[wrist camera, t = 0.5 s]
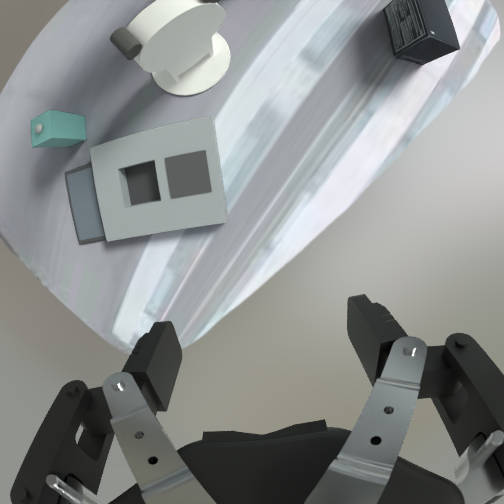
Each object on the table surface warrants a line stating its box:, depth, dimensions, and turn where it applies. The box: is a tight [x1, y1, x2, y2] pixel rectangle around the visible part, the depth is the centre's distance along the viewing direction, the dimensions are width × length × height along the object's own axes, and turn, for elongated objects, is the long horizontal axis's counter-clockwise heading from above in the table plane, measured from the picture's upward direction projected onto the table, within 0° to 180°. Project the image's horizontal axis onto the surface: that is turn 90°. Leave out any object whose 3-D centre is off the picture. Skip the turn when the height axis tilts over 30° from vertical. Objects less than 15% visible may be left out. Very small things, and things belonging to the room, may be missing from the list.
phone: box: [65, 163, 106, 244], centre depth 37 cm, size 6×12×1 cm, turn 8°
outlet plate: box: [90, 116, 228, 242], centre depth 35 cm, size 14×18×3 cm
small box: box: [384, 0, 460, 65], centre depth 24 cm, size 11×6×10 cm, turn 3°
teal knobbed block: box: [31, 110, 87, 148], centre depth 29 cm, size 4×4×10 cm
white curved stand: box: [110, 0, 230, 96], centre depth 24 cm, size 12×11×15 cm
